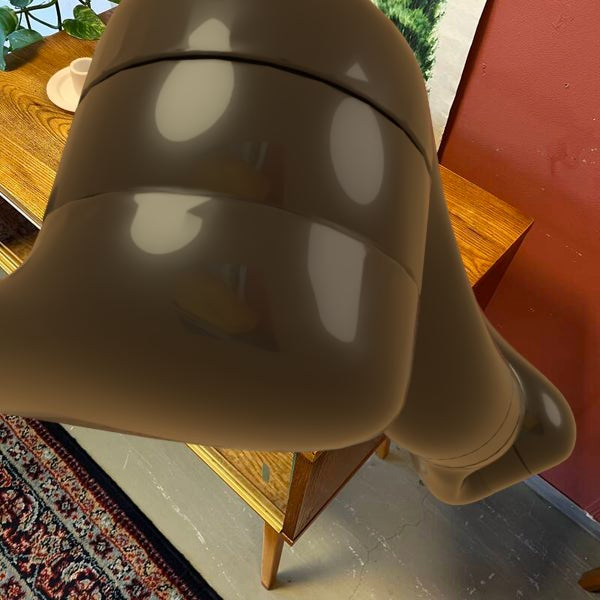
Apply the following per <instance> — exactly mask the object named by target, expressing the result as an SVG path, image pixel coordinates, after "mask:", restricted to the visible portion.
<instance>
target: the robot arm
mask: <svg viewBox="0 0 600 600" xmlns="http://www.w3.org/2000/svg"><path fill="white" fill-rule="evenodd" d="M91 58H92V61H91V64H90V67H89V70H88V73H87V76H86V79H85V82H84V85H83V89H82V92H81V96H80V99H79V102H78V106H77V108H76V110H75V112H74V114H73V117H72V120H71V123H70V127H69V131H68V133H67V137H66V140H65V143H64V147H63V150H62V153H61V157H60V160H59V163H58V166H57V169H56V174H55V177H54V180H53V183H52V186H51V190H50V193H49V196H48V200H47V203H46V207H45V208H44V209H45V210H44V213H43V216H42V222H41V223H42V225H41V227H40V229H39V232H38V234H37V236H36V238H35V241H34V244H33V246H32V249H31V251H30V252H29V253H28V255H27V256H26V258H25V259H24V261H22V263H21V264H20V265H19V266H17V267H16V268H15V269H14V270H12V272H10V273H9V274H8V275H6V276H4V277H1V278H0V414H1V415H8V416H13V417H14V416H15V417H20V418H26V419H32V420H37V421H38V420H39V421H44V422H50V423H55V424H61V425H62V424H63V425H67V426H75V427H80V428H85V429H91V430H96V431H97V430H98V431H104V432H109V433H115V434H122V435H127V436H132V437H138V438H146V439H152V440H157V441H158V440H159V441H164V442H165V441H166V442H172V443H179V444H186V445H194V446H200V447H209V448H215V449H224V450H234V451H249V452H260V453H313V452H323V451H324V452H325V451H334V450H341V449H345V448H348V447H351V446H354V445H358V444H362V443H365V442H369V441H371V440H373V439H375V438H377V437H379V436H381V435H382V434H383V435H384V436H386V437H387V438H388V439H389V440H390V441H392V443H394V444H396V445H397V446H399V447H400V448H402V449H403V450H405V451H407V452H408V455H409V457H410V460H411V462H412V466H413V467H414V470H415V473H416V474H417V476H418V478H419V479H420V481H421V482H422V484H423V485H424V487H425V488H426V489H427V490H428V491H429V493H431V494H432V495H433V496H434V497H435V498H436V499H437V500H439V501H440V502H442V503H444V504H447V505H449V506H450V505H451V506H463V505H469V504H473V503H476V502H479V501H481V500H483V499H485V498H487V497H491V496H492V495H494V494H495V493H498V492H500V491H503V490H505V489H506V488H509V487H512V486H514V485H517V483H520V482H523V481H525V480H527V479H530V478H532V476H536V475H539V474H541V473H543V472H546V471H548V470H550V469H552V468H554V467H556V466H558V465H560V464H561V463H563V462H564V461H566V460H568V459H569V457H570V456H571V455H572V453H573V451H574V448H575V445H576V440H577V423H576V419H575V416H574V413H573V410H572V408H571V405H570V404H569V402H568V401H567V399H566V398H565V396H564V394H563V393H562V392H561V391H560V390H559V389H558V388H557V387H556V385H554V384H553V382H552V381H550V379H549V378H548V377H547V376H546V375H545V374H543V373H542V372H541V371H540V370H539V369H538V367H536V366H535V365H533V364H532V362H530V360H528V359H527V358H526V357H524V356H523V355H522V354H521V353H520V352H519V351H518V350H517V349H516V348H515V347H514V346H513V345H512V344H511V343H510V342H509V341H508V340H507V339H506V338H505V337H504V335H503V334H501V333H500V331H499V330H498V329H497V328H496V327H495V325H494V324H493V323H492V322H491V320H490V319H489V318H488V317H487V315H486V314H485V312H484V311H483V309H482V307H481V306H480V304H479V302H478V301H477V298H476V295H475V292H474V289H473V287H472V284H471V281H470V278H469V276H468V273H467V270H466V267H465V263H464V260H463V257H462V253H461V251H460V247H459V244H458V241H457V236H456V234H455V229H454V227H453V224H452V220H451V215H450V212H449V207H448V204H447V199H446V196H445V192H444V186H443V180H442V174H441V169H440V163H439V157H438V151H437V144H436V139H435V133H434V127H433V120H432V113H431V107H430V102H429V101H430V100H429V95H428V90H427V86H426V82H425V79H424V75H423V72H422V68H421V66H420V64H419V62H418V59H417V57H416V55H415V53H414V51H413V49H412V48H411V46H410V44H409V43H408V41H407V39H406V37H405V36H404V35H403V34H402V31H400V29H399V28H398V27H397V26H396V24H395V22H393V21H392V20H391V19H390V18H389V17H388V16H387V15H386V14H385V13H384V12H383V11H382V10H381V9H380V8H379V7H378V6H377V5H376V4H375V3H374V2H373V1H372V0H120V1H119V3H118V5H117V6H116V8H115V9H114V11H113V13H111V15H110V17H109V18H108V21H107V23H106V24H105V27H104V29H103V32H102V34H101V36H100V38H99V40H98V43H97V46H96V47H95V50H94V53H93V56H92V57H91Z"/></svg>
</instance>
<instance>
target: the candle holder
mask: <svg viewBox="0 0 600 600" xmlns="http://www.w3.org/2000/svg"><path fill="white" fill-rule="evenodd" d="M92 58H93V57H88V56H87V57H79V58H76V59H74V60H72V61H71V62H70V64H69V65H68V66H66V67H63V68H62V69H60V70H57V72H55V73H54V74H53V75H52V76H51V77H50V78H49V80H48V81H47V84H46V94H47V98H48V99H49V100H50V101H51V102H52V104H54V105H56V107H59V108H61V109H63V110H66V111H69V112H73V113H75V110H76V108H77V106H78V102H79V99H80V96H81V92H82V89H83V85H84V82H85V79H86V76H87V73H88V70H89V67H90V64H91V61H92Z"/></svg>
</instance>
